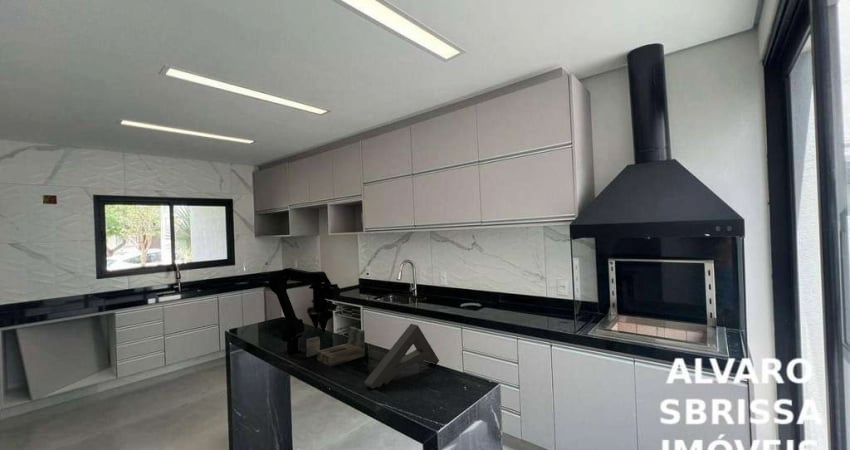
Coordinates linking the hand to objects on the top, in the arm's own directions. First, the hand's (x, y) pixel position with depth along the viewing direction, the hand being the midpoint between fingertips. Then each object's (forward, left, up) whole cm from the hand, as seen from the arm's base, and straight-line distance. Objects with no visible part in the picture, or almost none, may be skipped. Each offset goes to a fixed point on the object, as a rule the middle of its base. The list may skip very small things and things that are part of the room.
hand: (319, 330), depth 166 cm
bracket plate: (-3, -2, -12) cm, 12 cm away
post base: (+11, +5, -12) cm, 17 cm away
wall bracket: (+47, +13, -12) cm, 51 cm away
